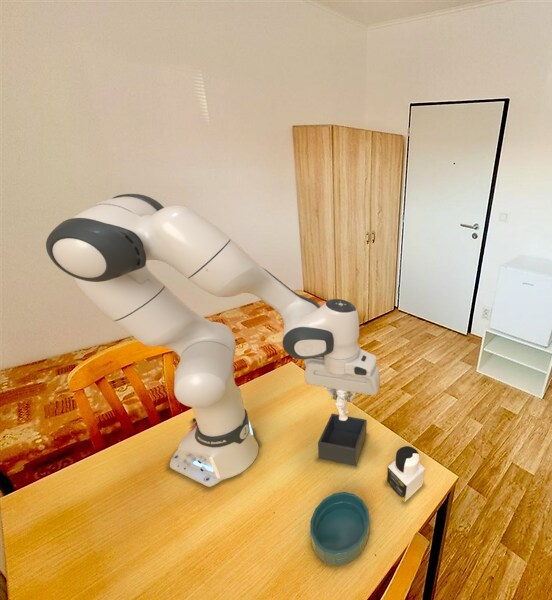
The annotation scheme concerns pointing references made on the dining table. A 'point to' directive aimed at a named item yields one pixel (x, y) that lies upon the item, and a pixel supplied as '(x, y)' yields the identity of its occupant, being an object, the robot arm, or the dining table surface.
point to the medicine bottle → (405, 473)
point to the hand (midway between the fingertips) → (342, 399)
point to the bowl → (339, 528)
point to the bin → (342, 440)
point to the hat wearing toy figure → (341, 404)
